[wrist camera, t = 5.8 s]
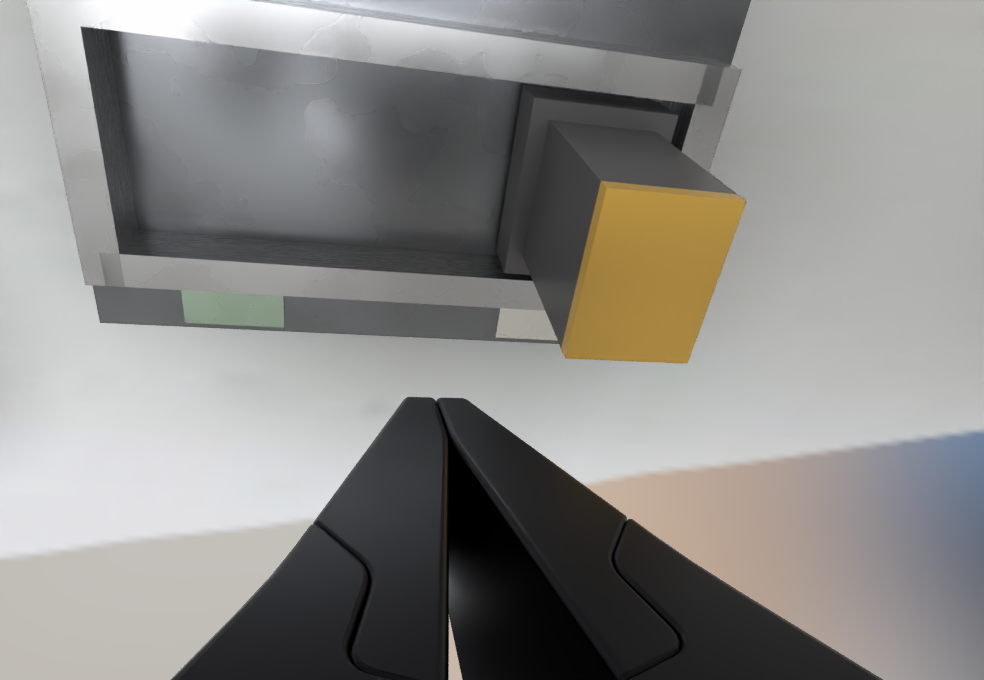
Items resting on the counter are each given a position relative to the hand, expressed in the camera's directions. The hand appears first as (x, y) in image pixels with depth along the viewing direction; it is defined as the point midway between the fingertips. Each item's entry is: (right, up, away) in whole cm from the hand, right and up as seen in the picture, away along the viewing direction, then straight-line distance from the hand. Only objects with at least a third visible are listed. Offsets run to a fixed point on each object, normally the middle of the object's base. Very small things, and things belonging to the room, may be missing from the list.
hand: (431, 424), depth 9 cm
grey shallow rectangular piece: (-2, +7, +11) cm, 13 cm away
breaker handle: (+3, +6, +11) cm, 13 cm away
